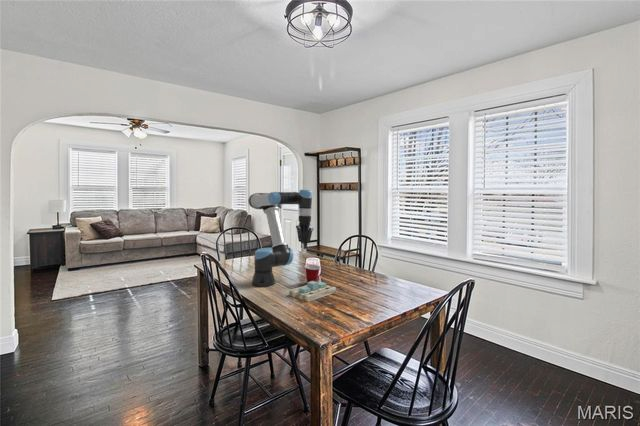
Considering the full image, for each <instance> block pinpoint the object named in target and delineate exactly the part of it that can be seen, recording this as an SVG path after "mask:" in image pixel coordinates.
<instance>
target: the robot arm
mask: <svg viewBox="0 0 640 426" xmlns="http://www.w3.org/2000/svg"><path fill="white" fill-rule="evenodd" d="M312 193H313V192H312V190H311V189H300V190H299V192H297V191H292V192H291V191H290V192H289V191H271V192H264V193H263V192H256V193H253V194H250V196H249V197H248V205H249V206H250V208H253V209H254V210H255V209H256V210H262V211H263V213H264V215H266V218H267V219H266V220H267V225H268V229H269V233H270V238H271V243H272V246H271V247H261V248H258V249H256V250H255V251H254V272H253V277H252V280H251V285H252V286H254V287H257V288H258V287H261V288H263V287H264V288H265V287H271V286H273V285H275V284H276V280H275V276H274V272H273V268H277V267H284V266H289V265H290V264H292V262H293V260H294V251H293V249H292V248H291V247H289V245H288V243H286V240H285V237H284V231H283V229H282V228H283V227H282V223H281V220H280V219H281V218H280V215H279V214H280V213H279V212H280V210H281V207H282V205H298V222H299V223H298V225H296V226H295V228H296V232H297V239H298V242H300V248H301V253H300V254H301V255H304V254H307V249H308V244H309V243H311V238H312V234H313V231H314V227H312V226H311V223H312V206H313V205H312V202H313V201H312V200H313V194H312Z"/></svg>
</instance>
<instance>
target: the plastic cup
mask: <svg viewBox="0 0 640 426" xmlns="http://www.w3.org/2000/svg"><path fill="white" fill-rule="evenodd" d="M321 268H322V267H321V266H320V265H317V264H305V265H304V269H305V274H306V275H305V277H306V281H307V282H311V281H315V282H318V278H319V272H320V270H321ZM307 282H306V283H307Z"/></svg>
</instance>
